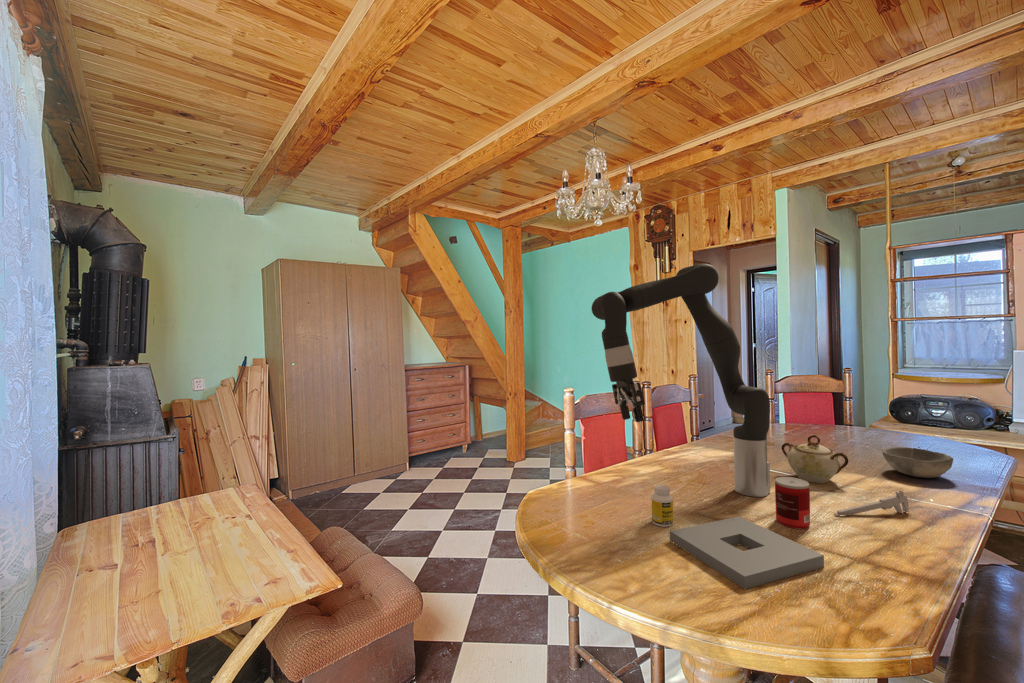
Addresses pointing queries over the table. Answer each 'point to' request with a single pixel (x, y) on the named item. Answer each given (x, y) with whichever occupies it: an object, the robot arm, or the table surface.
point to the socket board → (750, 567)
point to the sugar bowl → (814, 461)
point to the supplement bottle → (662, 506)
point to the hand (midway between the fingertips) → (633, 420)
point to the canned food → (792, 502)
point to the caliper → (879, 505)
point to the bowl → (918, 461)
